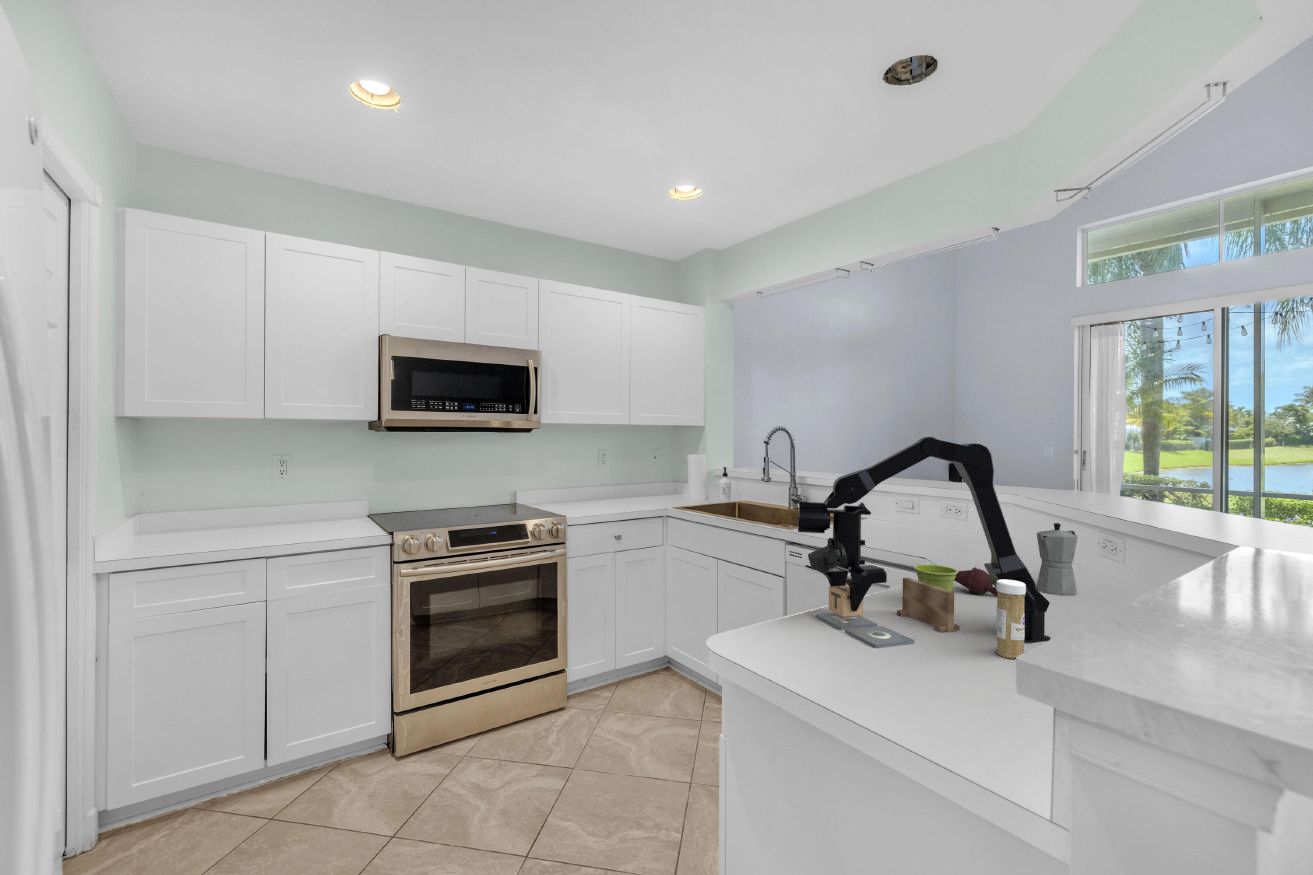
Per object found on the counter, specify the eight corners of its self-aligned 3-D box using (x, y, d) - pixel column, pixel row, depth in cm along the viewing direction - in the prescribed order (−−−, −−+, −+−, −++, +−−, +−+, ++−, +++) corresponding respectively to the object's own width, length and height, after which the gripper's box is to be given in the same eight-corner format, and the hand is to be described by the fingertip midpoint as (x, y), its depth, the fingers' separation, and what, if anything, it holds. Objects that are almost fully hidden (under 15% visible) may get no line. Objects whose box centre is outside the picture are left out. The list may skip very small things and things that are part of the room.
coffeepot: (1062, 598, 145) (1062, 527, 145) (1023, 589, 154) (1024, 522, 154) (1094, 591, 153) (1095, 523, 153) (1055, 583, 161) (1056, 519, 161)
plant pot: (965, 611, 133) (965, 573, 133) (924, 610, 133) (924, 572, 133) (945, 600, 142) (946, 564, 142) (907, 599, 142) (907, 564, 142)
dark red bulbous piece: (939, 566, 151) (1004, 581, 141) (948, 555, 156) (1012, 569, 146) (938, 590, 153) (1003, 607, 143) (947, 579, 158) (1010, 594, 148)
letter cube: (863, 614, 122) (863, 590, 122) (842, 616, 120) (843, 592, 120) (848, 607, 127) (848, 584, 127) (828, 609, 125) (828, 586, 125)
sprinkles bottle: (1025, 661, 102) (1026, 585, 102) (995, 656, 104) (996, 582, 105) (1024, 653, 106) (1024, 580, 106) (995, 648, 108) (996, 577, 109)
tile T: (877, 626, 121) (877, 623, 121) (840, 630, 118) (840, 626, 118) (849, 613, 129) (849, 610, 129) (815, 617, 127) (815, 614, 127)
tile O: (914, 643, 111) (914, 639, 111) (875, 647, 108) (875, 644, 108) (882, 628, 119) (882, 625, 119) (845, 632, 117) (845, 628, 117)
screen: (960, 630, 119) (961, 591, 119) (941, 632, 117) (941, 593, 117) (913, 612, 131) (914, 577, 131) (895, 614, 130) (896, 578, 130)
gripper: (790, 529, 130) (789, 598, 130) (841, 543, 112) (841, 623, 112) (832, 527, 134) (832, 595, 134) (888, 541, 116) (888, 619, 116)
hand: (846, 607), depth 124 cm, fingers closed on letter cube, 5 cm apart
